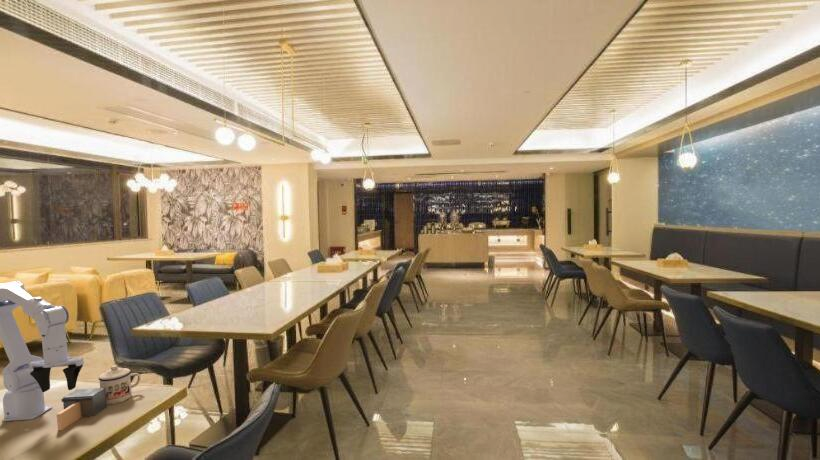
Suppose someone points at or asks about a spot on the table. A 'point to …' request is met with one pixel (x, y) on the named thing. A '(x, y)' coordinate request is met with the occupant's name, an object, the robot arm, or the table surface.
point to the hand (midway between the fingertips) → (59, 389)
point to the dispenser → (87, 400)
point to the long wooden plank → (69, 415)
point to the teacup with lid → (117, 384)
